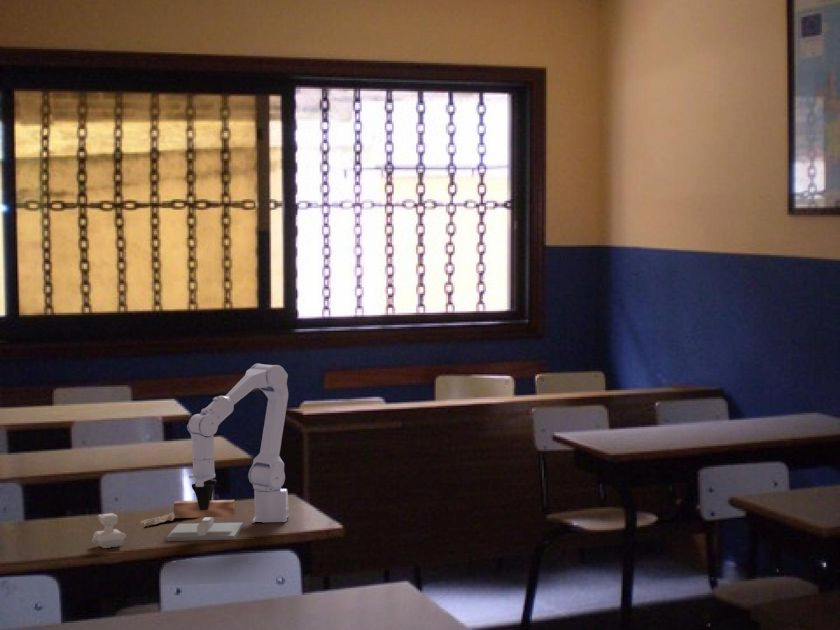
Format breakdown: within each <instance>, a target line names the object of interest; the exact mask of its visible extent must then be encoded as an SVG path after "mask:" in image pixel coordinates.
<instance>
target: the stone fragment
mask: <svg viewBox="0 0 840 630" xmlns="http://www.w3.org/2000/svg"><path fill="white" fill-rule="evenodd" d="M174 519H175V518H174V511H171V512H169V513H168V514H164V515H162V516H156V517H152V518H151V517H149V518H148V519H146V518H145V519H143V520H140V521H139V522H140V523H141V524H142V523H144V525H146V526H147V527H150V526H153V525H157V524H160V523H165V522H167V521H169V522H170V521H171V522H172V521H174ZM147 527H146V528H147Z"/></svg>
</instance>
